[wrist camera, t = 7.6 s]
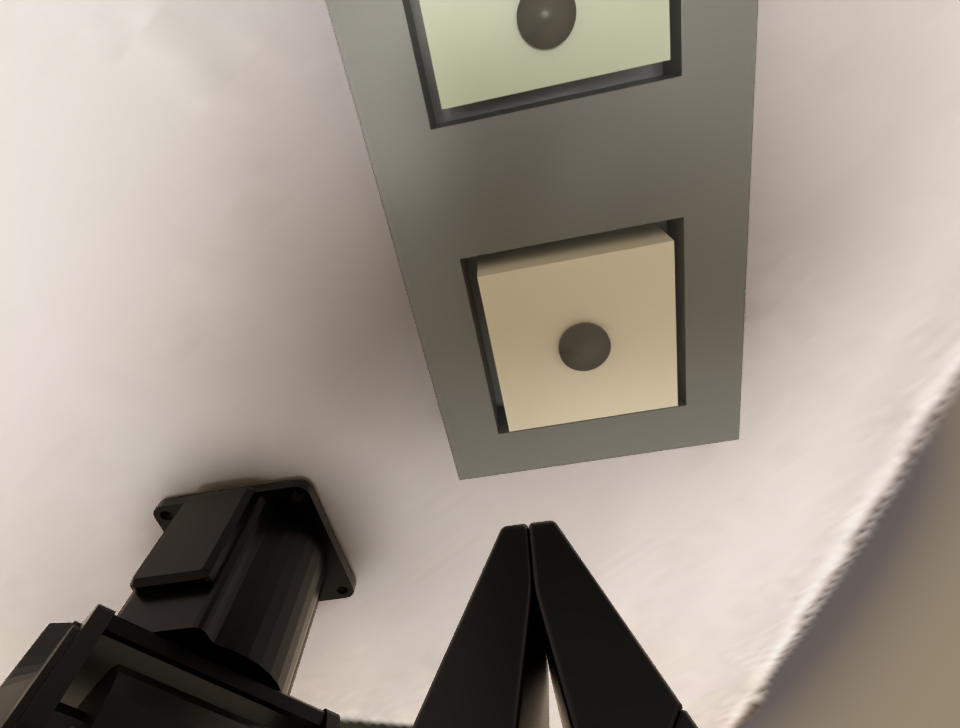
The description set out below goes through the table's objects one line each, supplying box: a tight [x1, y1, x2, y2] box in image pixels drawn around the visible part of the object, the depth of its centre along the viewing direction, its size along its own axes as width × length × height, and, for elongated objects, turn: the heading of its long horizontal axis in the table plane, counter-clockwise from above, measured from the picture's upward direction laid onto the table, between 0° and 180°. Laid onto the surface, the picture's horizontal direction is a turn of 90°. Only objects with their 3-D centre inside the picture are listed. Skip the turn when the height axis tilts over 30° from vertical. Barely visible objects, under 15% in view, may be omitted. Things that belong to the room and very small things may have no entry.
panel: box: [326, 0, 758, 480], centre depth 14 cm, size 18×9×2 cm, turn 11°
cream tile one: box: [477, 222, 678, 432], centre depth 16 cm, size 5×5×2 cm
